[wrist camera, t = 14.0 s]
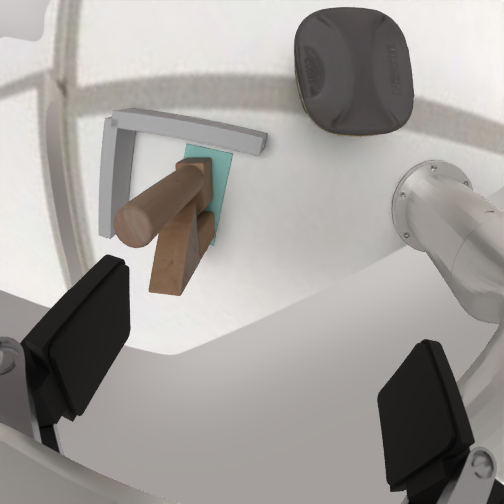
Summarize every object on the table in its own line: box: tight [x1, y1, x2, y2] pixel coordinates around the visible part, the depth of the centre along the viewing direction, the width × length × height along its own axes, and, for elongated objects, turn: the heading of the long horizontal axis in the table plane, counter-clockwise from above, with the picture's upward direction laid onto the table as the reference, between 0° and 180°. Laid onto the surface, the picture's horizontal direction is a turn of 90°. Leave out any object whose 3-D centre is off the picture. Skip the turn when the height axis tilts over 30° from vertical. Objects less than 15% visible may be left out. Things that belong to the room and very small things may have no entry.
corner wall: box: [99, 108, 267, 239], centre depth 37 cm, size 19×17×5 cm
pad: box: [184, 144, 233, 246], centre depth 39 cm, size 6×13×1 cm, turn 167°
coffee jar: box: [294, 7, 414, 137], centre depth 23 cm, size 10×8×19 cm
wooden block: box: [113, 157, 215, 296], centre depth 31 cm, size 4×11×18 cm, turn 0°
